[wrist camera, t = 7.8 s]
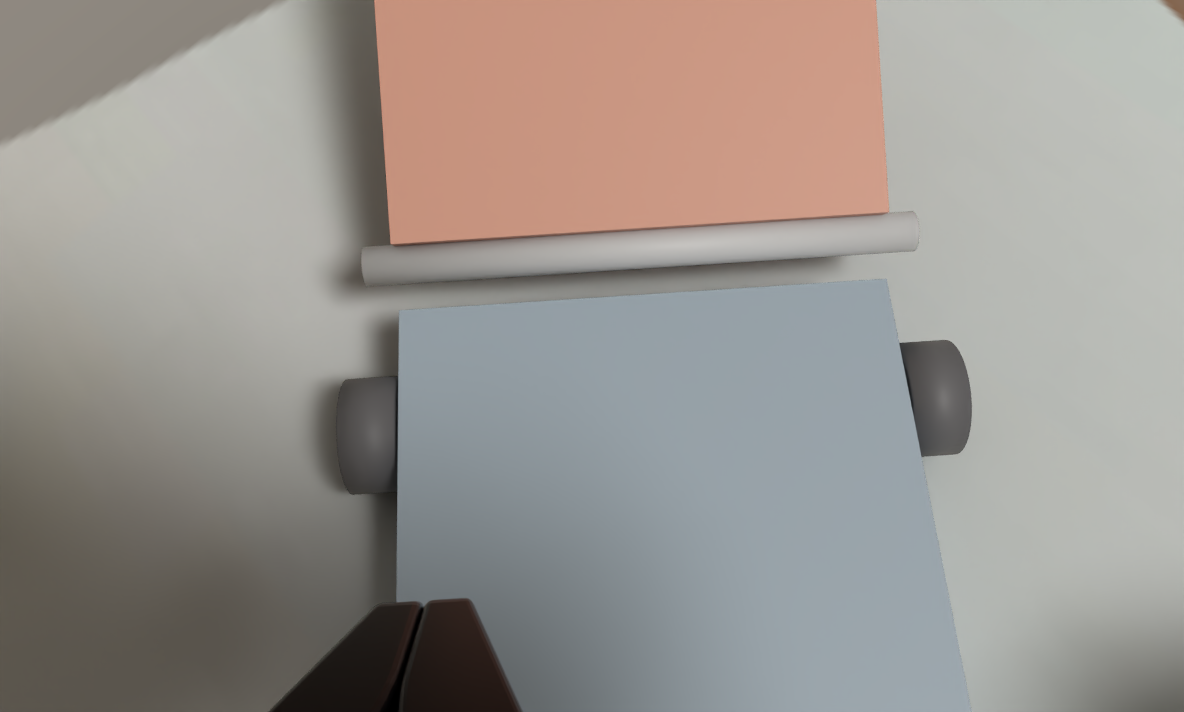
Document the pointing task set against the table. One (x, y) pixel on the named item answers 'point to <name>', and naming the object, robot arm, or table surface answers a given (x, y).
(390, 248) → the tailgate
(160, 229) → the table surface
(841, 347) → the cart bed
